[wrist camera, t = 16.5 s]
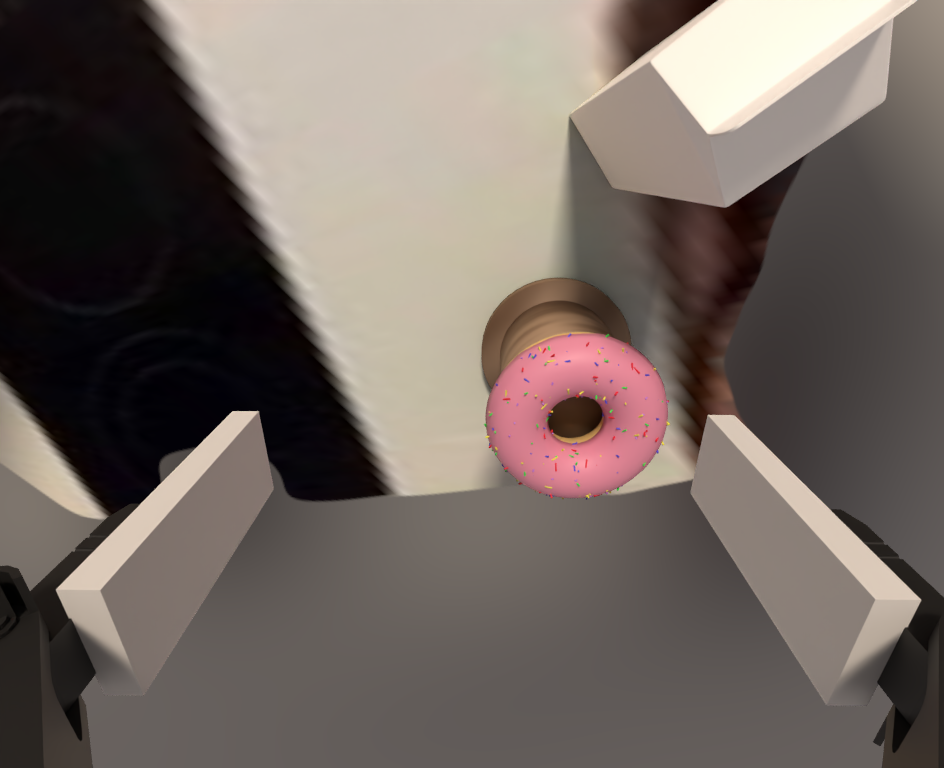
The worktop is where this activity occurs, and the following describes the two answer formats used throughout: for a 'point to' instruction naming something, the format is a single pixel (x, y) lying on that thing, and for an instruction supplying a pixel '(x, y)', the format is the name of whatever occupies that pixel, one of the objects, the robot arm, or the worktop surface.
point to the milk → (739, 95)
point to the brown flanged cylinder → (545, 315)
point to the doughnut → (572, 375)
